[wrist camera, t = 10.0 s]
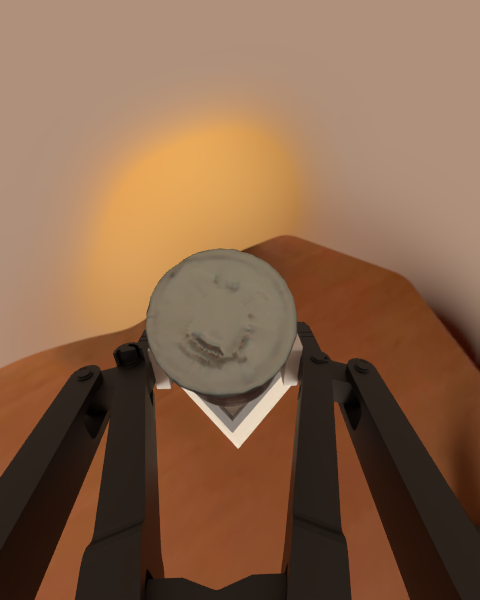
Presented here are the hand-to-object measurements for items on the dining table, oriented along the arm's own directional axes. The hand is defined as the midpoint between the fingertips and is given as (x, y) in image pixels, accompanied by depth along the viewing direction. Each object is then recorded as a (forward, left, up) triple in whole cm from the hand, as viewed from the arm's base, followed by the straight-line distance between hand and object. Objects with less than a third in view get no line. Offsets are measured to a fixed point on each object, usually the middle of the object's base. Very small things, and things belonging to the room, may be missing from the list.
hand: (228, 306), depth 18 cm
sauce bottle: (+3, -3, -9) cm, 9 cm away
